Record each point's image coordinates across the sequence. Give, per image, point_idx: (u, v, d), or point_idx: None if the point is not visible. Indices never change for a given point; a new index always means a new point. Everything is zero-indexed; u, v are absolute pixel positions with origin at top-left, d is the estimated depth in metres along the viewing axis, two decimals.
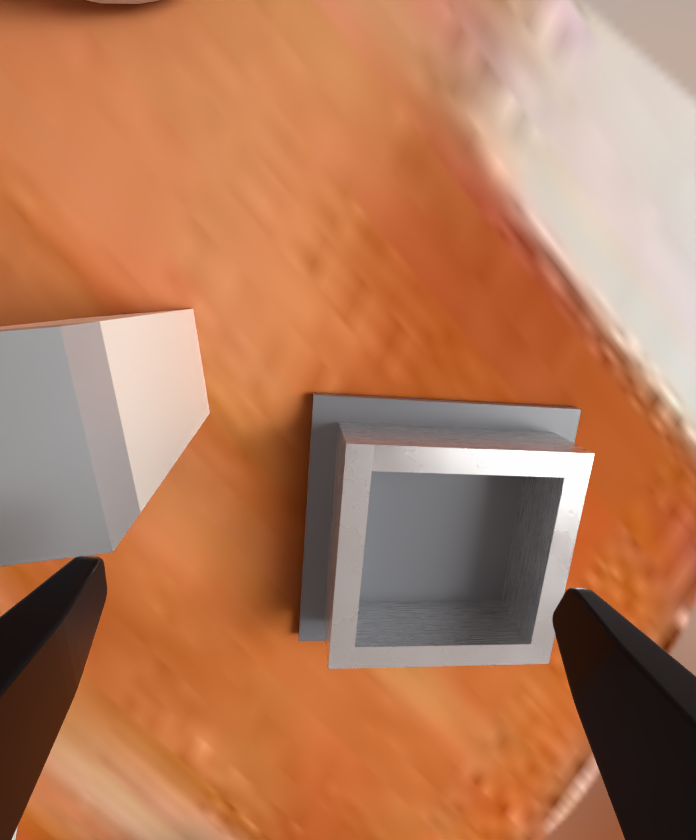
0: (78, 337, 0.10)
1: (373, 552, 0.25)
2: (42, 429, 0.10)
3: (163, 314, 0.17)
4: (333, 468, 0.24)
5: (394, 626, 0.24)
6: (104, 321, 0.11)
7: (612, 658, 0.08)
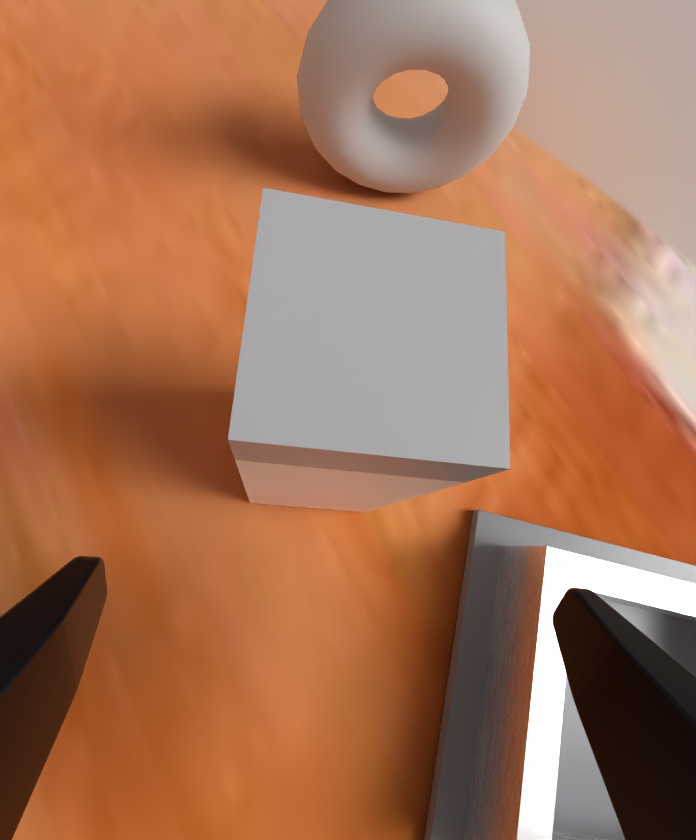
0: None
1: None
2: (468, 313, 0.09)
3: None
4: (492, 602, 0.20)
5: None
6: None
7: (612, 658, 0.08)
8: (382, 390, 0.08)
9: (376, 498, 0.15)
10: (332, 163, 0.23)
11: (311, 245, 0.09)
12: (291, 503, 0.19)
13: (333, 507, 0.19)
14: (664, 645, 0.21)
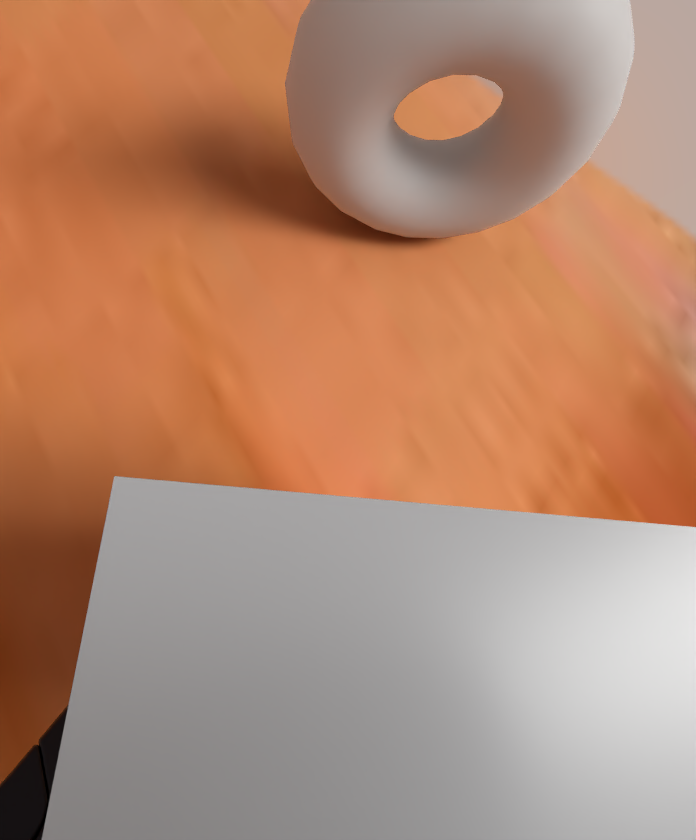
0: None
1: None
2: None
3: None
4: None
5: None
6: None
7: None
8: None
9: None
10: (335, 202, 0.17)
11: (265, 678, 0.03)
12: None
13: None
14: None
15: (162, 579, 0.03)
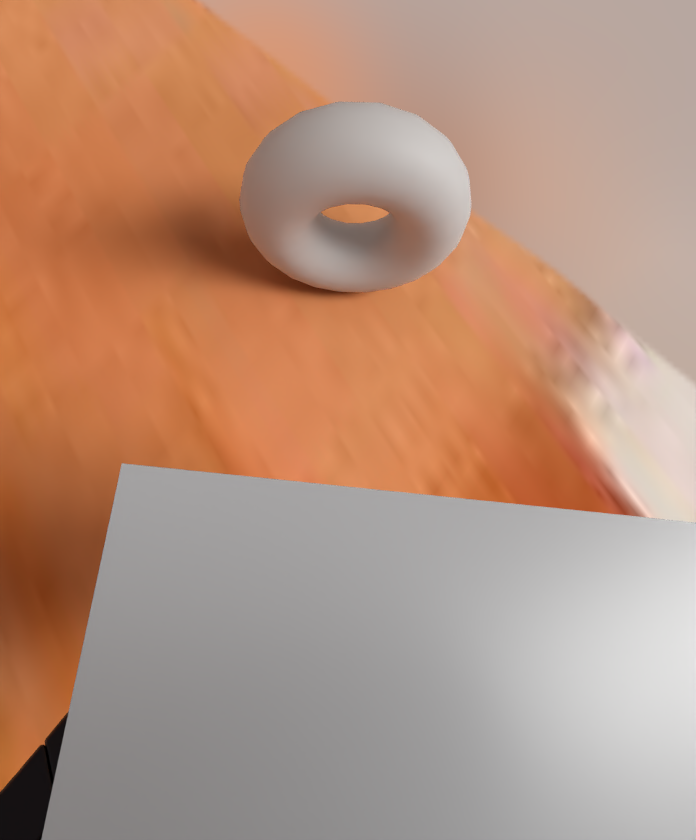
0: None
1: None
2: None
3: None
4: None
5: None
6: None
7: None
8: None
9: None
10: (282, 271, 0.23)
11: (263, 659, 0.03)
12: None
13: None
14: None
15: (166, 562, 0.03)
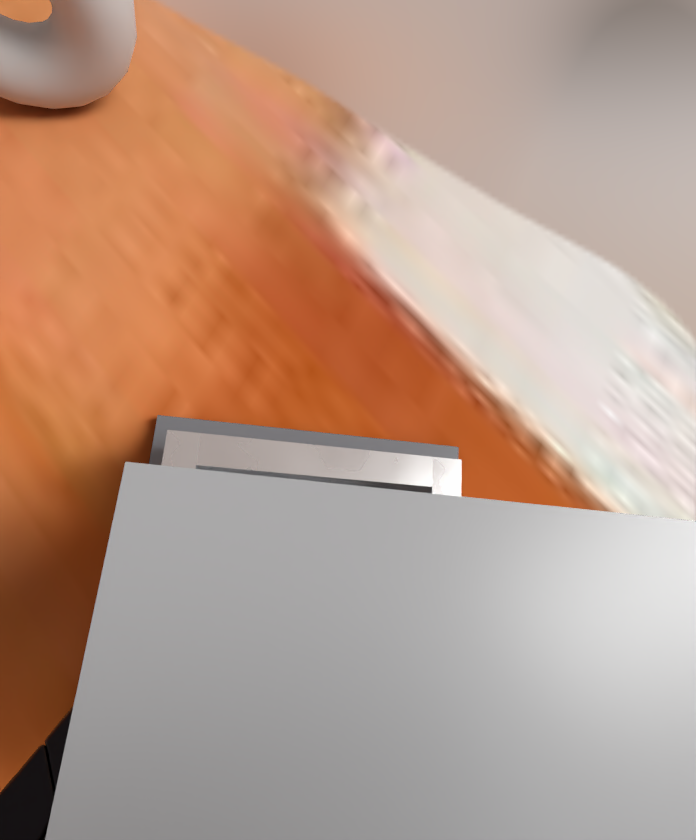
0: None
1: None
2: None
3: None
4: None
5: None
6: None
7: None
8: None
9: None
10: None
11: (266, 658, 0.03)
12: None
13: None
14: None
15: (169, 561, 0.03)
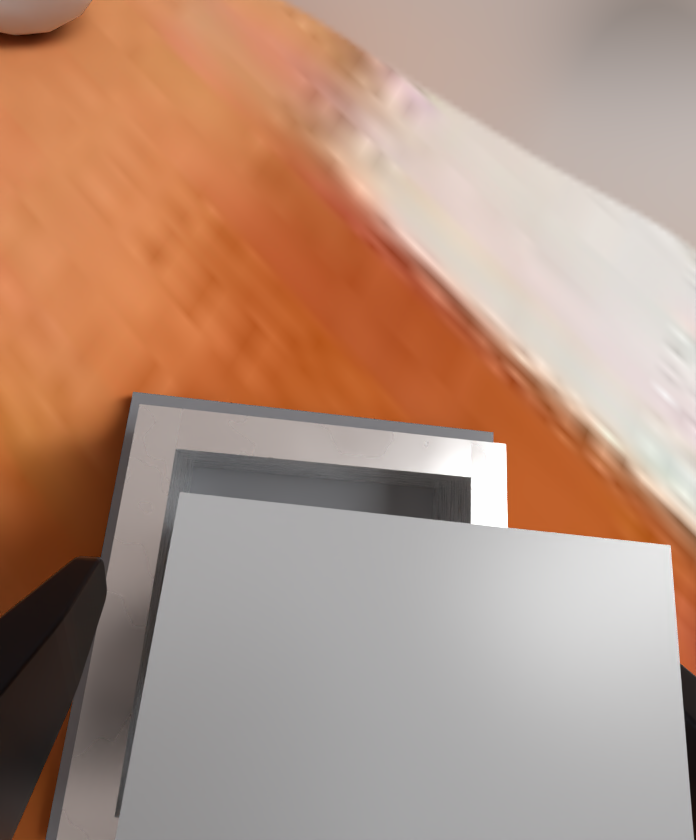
0: None
1: None
2: (611, 764, 0.04)
3: None
4: None
5: None
6: None
7: None
8: None
9: None
10: None
11: (278, 629, 0.04)
12: None
13: None
14: None
15: (211, 562, 0.04)
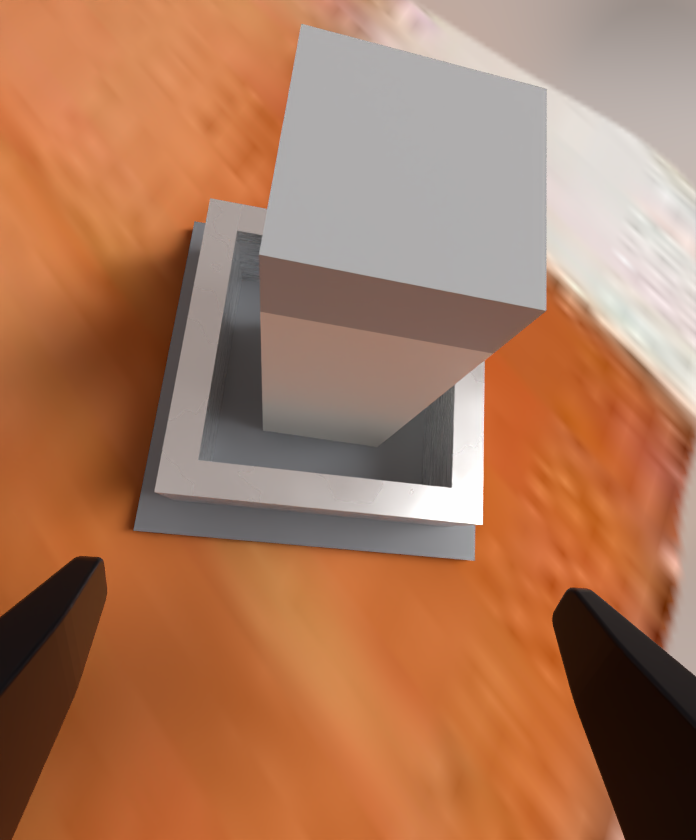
0: None
1: (250, 406, 0.20)
2: (507, 161, 0.09)
3: None
4: None
5: None
6: None
7: (612, 658, 0.08)
8: (417, 224, 0.08)
9: (394, 407, 0.15)
10: None
11: (348, 82, 0.09)
12: (305, 428, 0.19)
13: (347, 435, 0.19)
14: None
15: (317, 52, 0.09)
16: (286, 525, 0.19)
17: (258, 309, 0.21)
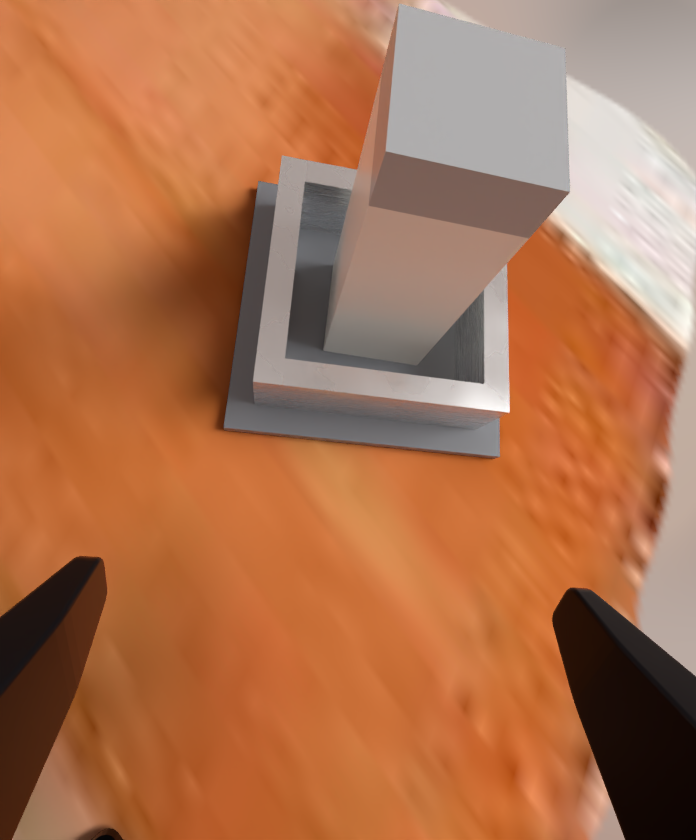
0: None
1: (312, 331, 0.24)
2: (540, 96, 0.13)
3: None
4: None
5: None
6: None
7: (612, 658, 0.08)
8: (483, 135, 0.12)
9: (443, 308, 0.19)
10: None
11: (432, 42, 0.13)
12: (361, 344, 0.23)
13: (394, 351, 0.23)
14: None
15: (410, 23, 0.13)
16: (345, 426, 0.23)
17: (314, 253, 0.25)
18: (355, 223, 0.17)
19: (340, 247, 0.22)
